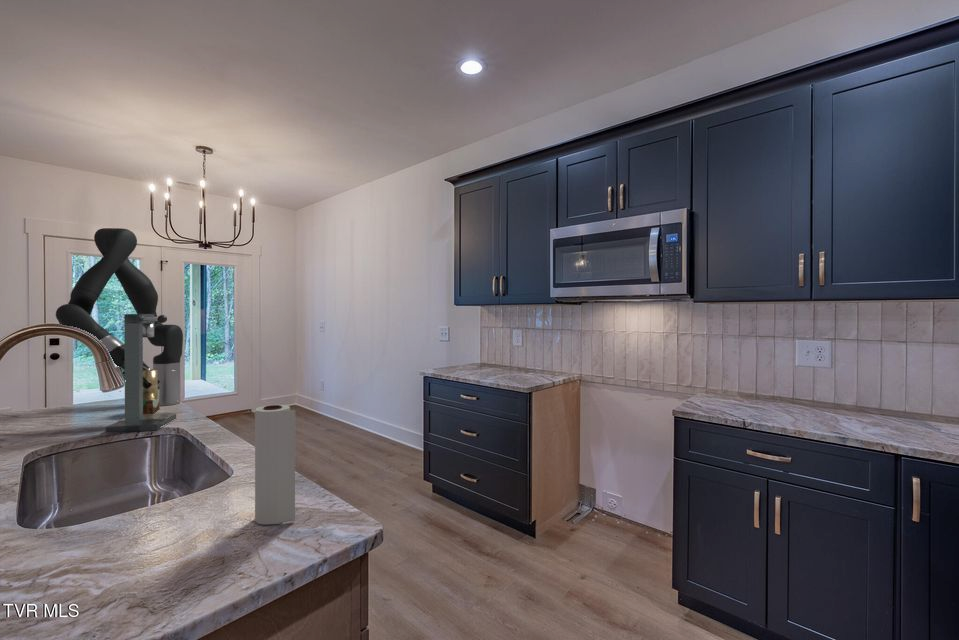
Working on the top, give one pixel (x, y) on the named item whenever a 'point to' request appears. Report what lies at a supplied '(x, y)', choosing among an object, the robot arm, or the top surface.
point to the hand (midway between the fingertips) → (153, 385)
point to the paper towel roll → (274, 464)
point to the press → (137, 377)
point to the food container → (152, 404)
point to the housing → (153, 378)
